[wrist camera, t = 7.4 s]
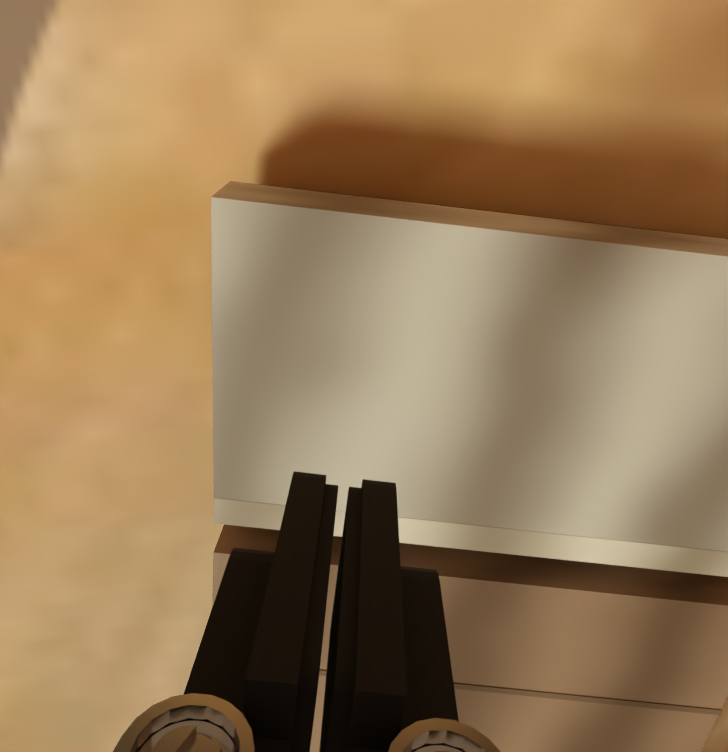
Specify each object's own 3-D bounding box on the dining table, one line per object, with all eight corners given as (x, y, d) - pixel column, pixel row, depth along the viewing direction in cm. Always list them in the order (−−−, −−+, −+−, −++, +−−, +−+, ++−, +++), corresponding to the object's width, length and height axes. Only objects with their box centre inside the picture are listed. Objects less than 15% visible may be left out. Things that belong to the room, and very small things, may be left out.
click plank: (895, 258, 17) (956, 283, 15) (748, 538, 21) (781, 582, 20) (230, 181, 16) (211, 197, 15) (228, 483, 21) (214, 523, 19)
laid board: (736, 568, 22) (769, 610, 20) (660, 742, 25) (683, 792, 23) (227, 514, 21) (213, 553, 20) (222, 698, 25) (210, 746, 23)
